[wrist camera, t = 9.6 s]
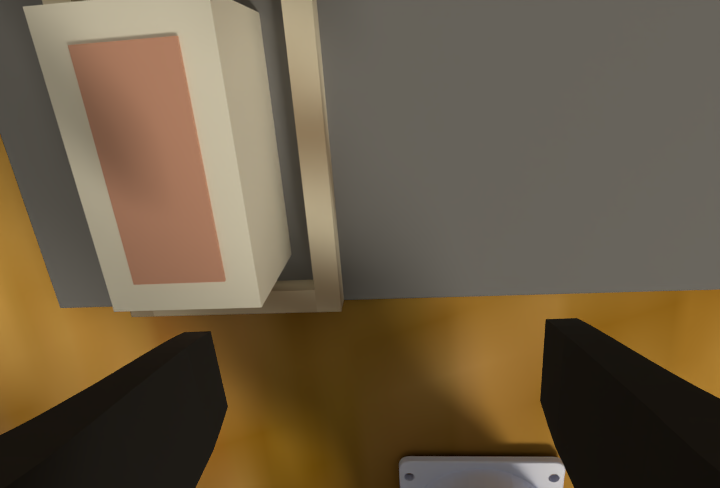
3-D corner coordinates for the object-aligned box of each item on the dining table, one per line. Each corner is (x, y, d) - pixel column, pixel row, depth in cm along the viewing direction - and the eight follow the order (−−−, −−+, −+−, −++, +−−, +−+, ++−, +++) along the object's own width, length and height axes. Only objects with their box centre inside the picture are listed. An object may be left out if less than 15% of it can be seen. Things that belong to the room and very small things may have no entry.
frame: (343, 299, 19) (341, 311, 18) (144, 305, 20) (131, 316, 19) (311, -56, 14) (305, -65, 13) (53, -29, 15) (31, -36, 14)
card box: (121, 25, 16) (19, 5, 11) (258, 12, 15) (206, -12, 11) (176, 259, 19) (112, 313, 15) (291, 254, 18) (260, 309, 14)
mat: (870, 279, 18) (883, 284, 17) (68, 302, 21) (60, 307, 20) (1018, -122, 13) (1041, -129, 13) (-40, -16, 16) (-53, -19, 16)
